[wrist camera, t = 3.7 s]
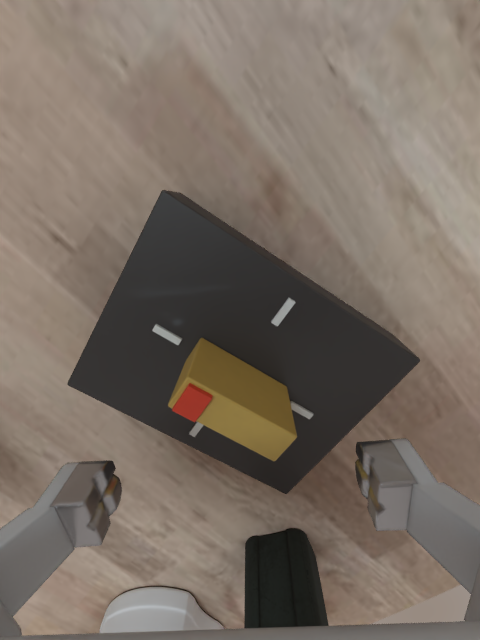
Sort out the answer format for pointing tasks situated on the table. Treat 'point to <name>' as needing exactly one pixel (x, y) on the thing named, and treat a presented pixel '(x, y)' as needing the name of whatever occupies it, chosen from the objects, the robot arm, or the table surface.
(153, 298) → the plate
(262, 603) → the black elongated bar piece
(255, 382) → the lock turn
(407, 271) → the table surface
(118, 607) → the jar
